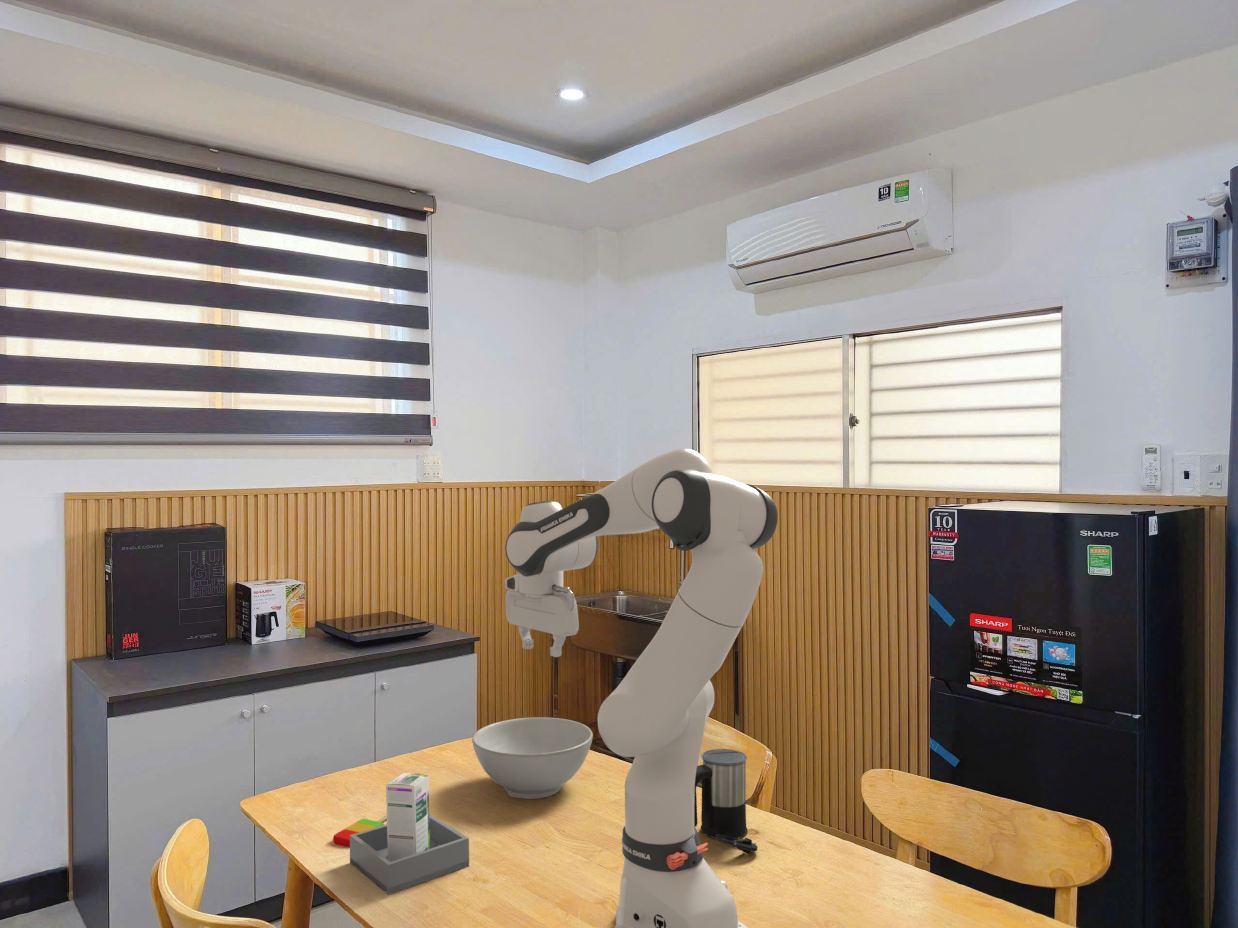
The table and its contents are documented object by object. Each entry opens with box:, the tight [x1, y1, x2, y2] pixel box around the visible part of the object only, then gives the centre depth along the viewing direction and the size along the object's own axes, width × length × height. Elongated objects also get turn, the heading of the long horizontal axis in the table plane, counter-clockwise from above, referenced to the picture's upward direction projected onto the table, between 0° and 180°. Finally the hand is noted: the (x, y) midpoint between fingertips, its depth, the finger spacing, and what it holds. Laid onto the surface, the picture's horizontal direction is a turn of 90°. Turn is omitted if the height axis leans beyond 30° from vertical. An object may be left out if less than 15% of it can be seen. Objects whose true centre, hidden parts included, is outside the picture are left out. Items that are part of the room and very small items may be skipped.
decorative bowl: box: [471, 716, 594, 800], centre depth 192 cm, size 27×27×12 cm
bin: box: [349, 813, 470, 895], centre depth 156 cm, size 16×16×5 cm
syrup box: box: [385, 772, 430, 862], centre depth 156 cm, size 6×6×14 cm
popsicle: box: [332, 814, 387, 848], centre depth 171 cm, size 6×15×2 cm, turn 156°
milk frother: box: [694, 748, 758, 855], centre depth 165 cm, size 14×16×15 cm
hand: (541, 652), depth 170 cm, fingers open, 8 cm apart
